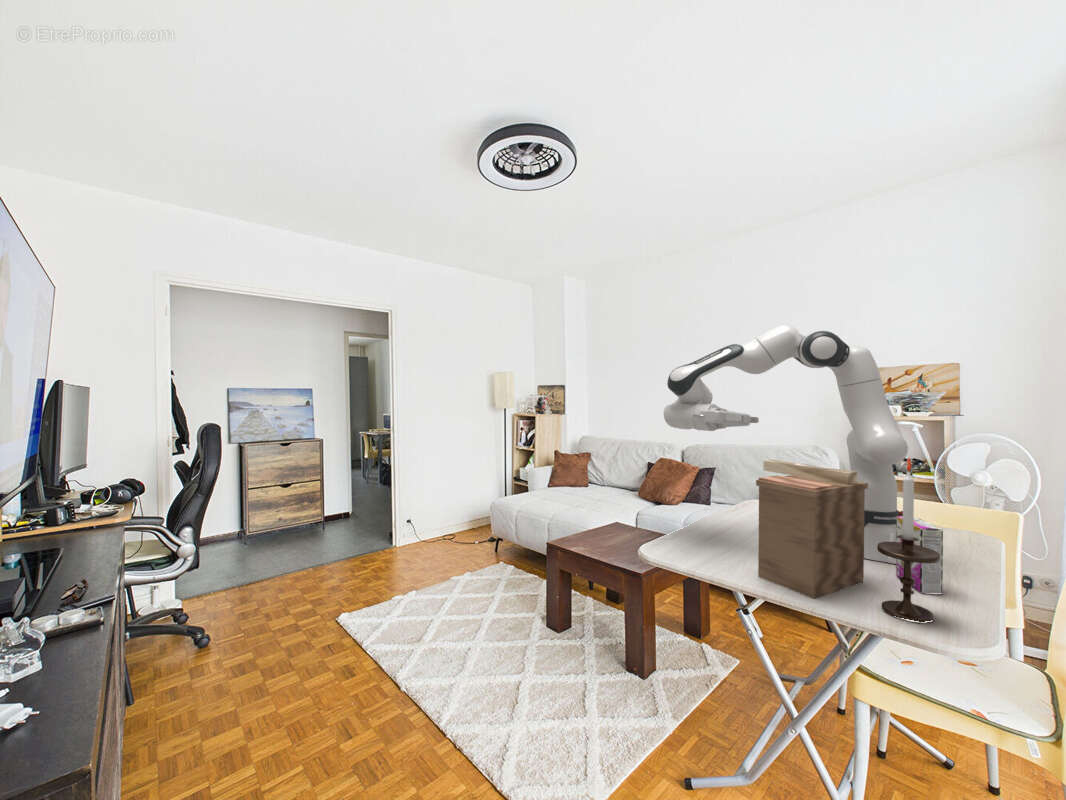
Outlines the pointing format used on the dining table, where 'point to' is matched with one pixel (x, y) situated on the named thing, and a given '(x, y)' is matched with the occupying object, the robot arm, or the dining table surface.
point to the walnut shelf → (811, 534)
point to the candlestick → (908, 558)
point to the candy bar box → (923, 573)
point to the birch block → (811, 471)
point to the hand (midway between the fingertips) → (750, 419)
